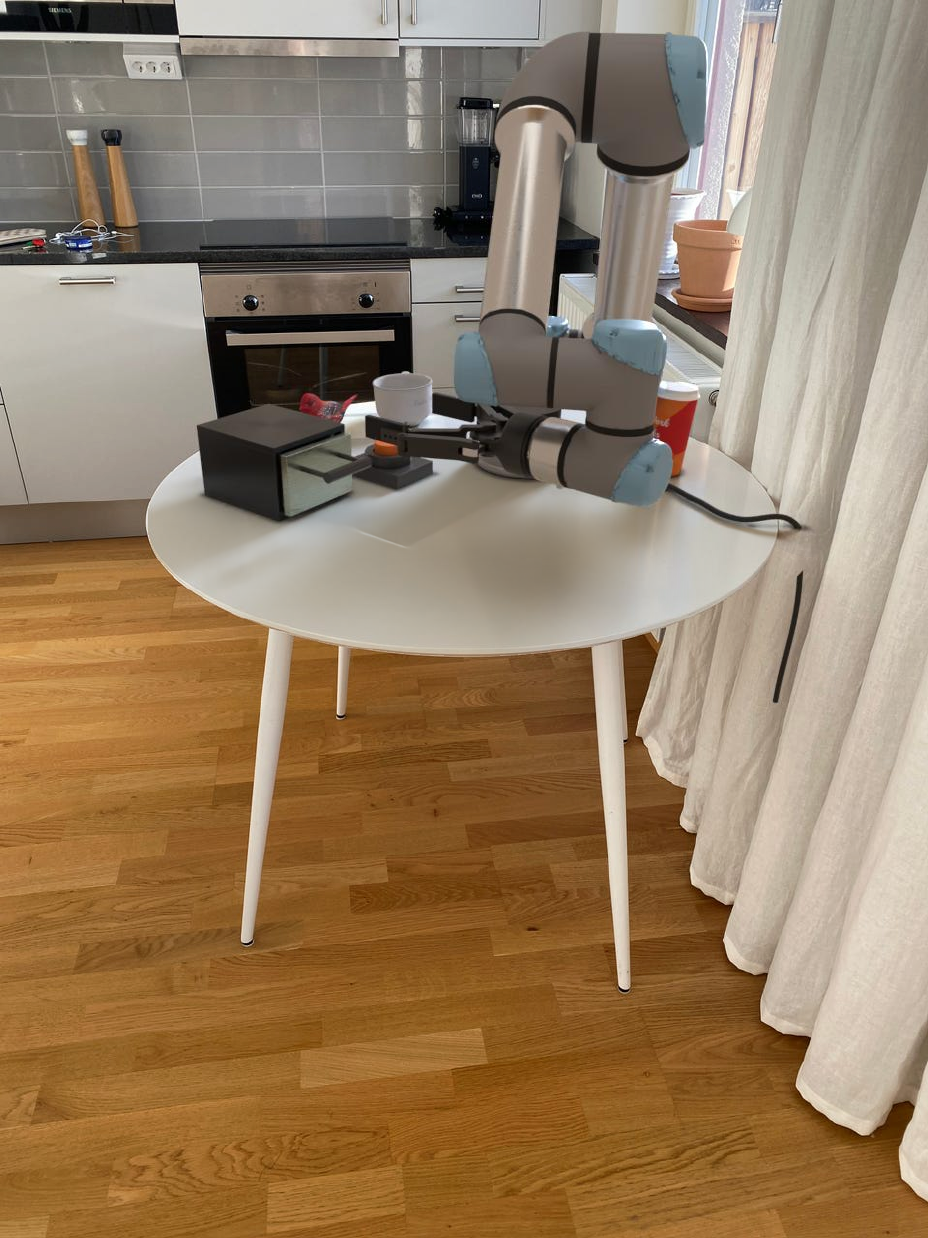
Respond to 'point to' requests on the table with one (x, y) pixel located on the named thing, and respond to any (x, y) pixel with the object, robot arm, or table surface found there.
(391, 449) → the button
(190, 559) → the table surface
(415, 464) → the block
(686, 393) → the paper cup
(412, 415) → the teacup
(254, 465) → the cabinet
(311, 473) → the drawer
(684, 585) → the table surface
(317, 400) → the decorative bird figurine
